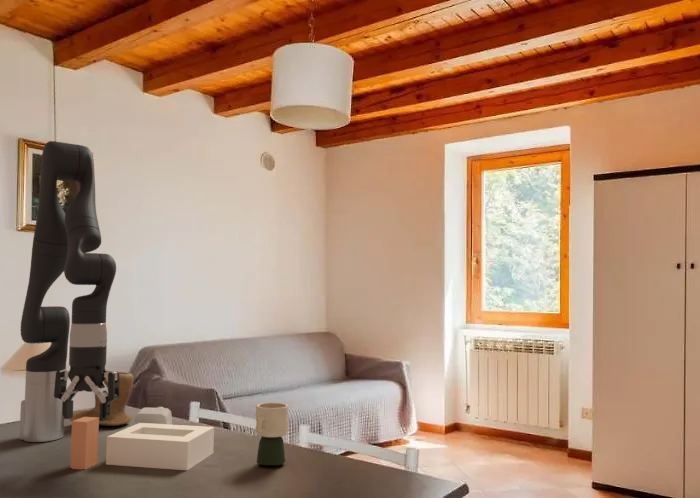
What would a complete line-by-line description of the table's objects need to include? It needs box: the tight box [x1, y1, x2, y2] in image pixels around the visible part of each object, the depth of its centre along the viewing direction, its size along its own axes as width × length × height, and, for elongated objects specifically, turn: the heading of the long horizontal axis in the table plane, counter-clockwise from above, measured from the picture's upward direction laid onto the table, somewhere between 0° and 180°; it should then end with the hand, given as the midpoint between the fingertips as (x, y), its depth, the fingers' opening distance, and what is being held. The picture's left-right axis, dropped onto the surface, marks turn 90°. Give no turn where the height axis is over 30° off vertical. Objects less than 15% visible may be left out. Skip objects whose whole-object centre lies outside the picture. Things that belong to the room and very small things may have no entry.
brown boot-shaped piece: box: [68, 369, 135, 427], centre depth 175 cm, size 15×12×15 cm
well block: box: [105, 423, 215, 471], centre depth 142 cm, size 19×14×6 cm
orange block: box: [69, 417, 100, 470], centre depth 135 cm, size 4×4×10 cm
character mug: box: [255, 402, 289, 468], centre depth 138 cm, size 11×7×13 cm, turn 154°
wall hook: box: [134, 406, 173, 425], centre depth 158 cm, size 8×10×10 cm
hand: (86, 419), depth 135 cm, fingers open, 8 cm apart
